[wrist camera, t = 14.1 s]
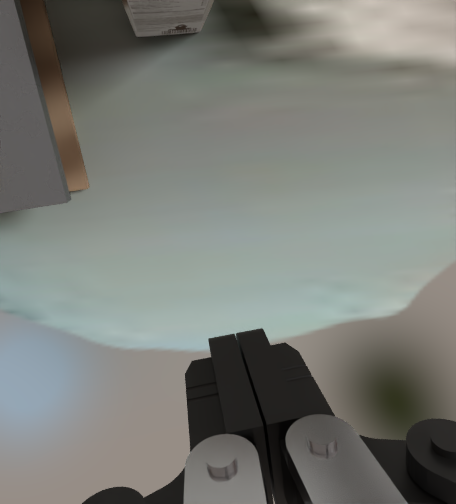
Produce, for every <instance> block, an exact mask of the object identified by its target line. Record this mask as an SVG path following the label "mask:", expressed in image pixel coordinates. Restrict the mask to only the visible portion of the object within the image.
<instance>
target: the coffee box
mask: <svg viewBox="0 0 456 504" xmlns="http://www.w3.org/2000/svg"><path fill="white" fill-rule="evenodd" d="M213 2H214V0H122V3H123V5H124V8H125V11H126V13H127V15H128V18H129V20H130V23H131V25H132V28H133V30H134V33H135V35H136V37H146V36H159V35H172V34H184V33H195V32H200V31H201V29H202V27H203V25H204V22H205V20H206V18H207V16H208V13H209V11H210V9H211V6H212V4H213Z"/></svg>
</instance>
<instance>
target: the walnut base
mask: <svg viewBox="0 0 456 504" xmlns="http://www.w3.org/2000/svg"><path fill="white" fill-rule="evenodd" d="M20 4H21V8H22V12H23V16H24V20H25V23H26V27H27V31H28V35H29V39H30V43H31V46H32V50H33V54H34V58H35V62H36V66H37V69H38V73H39V77H40V81H41V85H42V89H43V93H44V96H45V100H46V104H47V108H48V112H49V116H50V119H51V123H52V127H53V131H54V135H55V139H56V142H57V146H58V150H59V154H60V158H61V162H62V165H63V169H64V173H65V177H66V181H67V185H68V188H69V192H70V191H76V190H83V189H88V188H89V183H88V178H87V174H86V170H85V166H84V162H83V158H82V154H81V150H80V146H79V142H78V137H77V133H76V129H75V125H74V121H73V117H72V113H71V109H70V105H69V101H68V96H67V92H66V88H65V84H64V80H63V76H62V72H61V68H60V64H59V60H58V56H57V51H56V47H55V43H54V39H53V35H52V31H51V27H50V23H49V19H48V15H47V10H46V6H45V2H44V0H20Z"/></svg>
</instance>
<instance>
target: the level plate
mask: <svg viewBox="0 0 456 504" xmlns="http://www.w3.org/2000/svg"><path fill="white" fill-rule="evenodd" d="M70 200H71V196H70V192H69V188H68V185H67V181H66V177H65V173H64V169H63V165H62V162H61V158H60V154H59V150H58V146H57V142H56V139H55V135H54V131H53V127H52V123H51V119H50V116H49V112H48V108H47V104H46V100H45V96H44V93H43V89H42V85H41V81H40V77H39V73H38V69H37V66H36V62H35V58H34V54H33V50H32V46H31V43H30V39H29V35H28V31H27V27H26V23H25V20H24V16H23V12H22V8H21V4H20V0H0V213H4V212H10V211H17V210H23V209H30V208H36V207H42V206H49V205H55V204H62V203H67V202H69V201H70Z"/></svg>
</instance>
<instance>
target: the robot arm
mask: <svg viewBox="0 0 456 504" xmlns="http://www.w3.org/2000/svg"><path fill="white" fill-rule="evenodd" d="M236 339H237V340H236ZM208 340H209V346H210V352H211V357H210V358H205V359H200V360H194V361H192V362H191V364H190V366H189V368H188V370H187V371H186V373H185V381H186V394H187V408H188V422H189V435H190V454H189V456H188V458H187V460H186V464H185V468H184V469H183V471H182V472H181V473H180V474H179V475H178V476H177V477H176V478H175V479H174V480H173V481H172V482H171V483H169V484H168V485H166V486H165V487H163V488H161V489H159V490H157V491H155V492H154V493H152V494H150V495H148V496H146V497H144V498H143V496H142V495H141V494H140V493H139V492H137V491H136V490H134V489H131V488H128V487H113V488H109V489H105V490H102V491H100V492H98V493H96V494H95V495H93V496H91V497H90V498H88V499H87V500H86V501H84V502H83V503H82V504H273V498H274V501H275V504H456V422H454V421H450V420H445V419H427V420H423V421H420V422H418V423H416V424H414V425H413V426H412V427H411V428H410V429H409V431H408V433H407V436H406V440H386V439H373V438H368V437H364V436H361V435H358V434H357V432H356V431H355V430H354V428H353V427H352V426H351V425H349V424H348V423H347V422H345V421H344V420H342V419H340V418H338V417H335V415H334V413H333V412H332V410H331V408H330V406H329V405H328V403H327V401H326V399H325V398H324V396H323V394H322V392H321V390H320V389H319V387H318V385H317V383H316V382H315V380H314V378H313V377H312V376H311V373H310V371H309V369H308V367H307V366H306V364H305V362H304V360H303V359H302V357H301V355H300V353H299V352H298V351H297V350H295V349H294V348H292V347H291V346H289V345H288V344H286V343H281V344H276V345H270V343H269V341H268V339H267V337H266V334H265V332H264V330H263V329H262V328H261V329H256V330H251V331H245V332H240V333H236V337H235V334H230V335H225V336H220V337H214V338H209V339H208ZM272 494H273V496H272Z"/></svg>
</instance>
